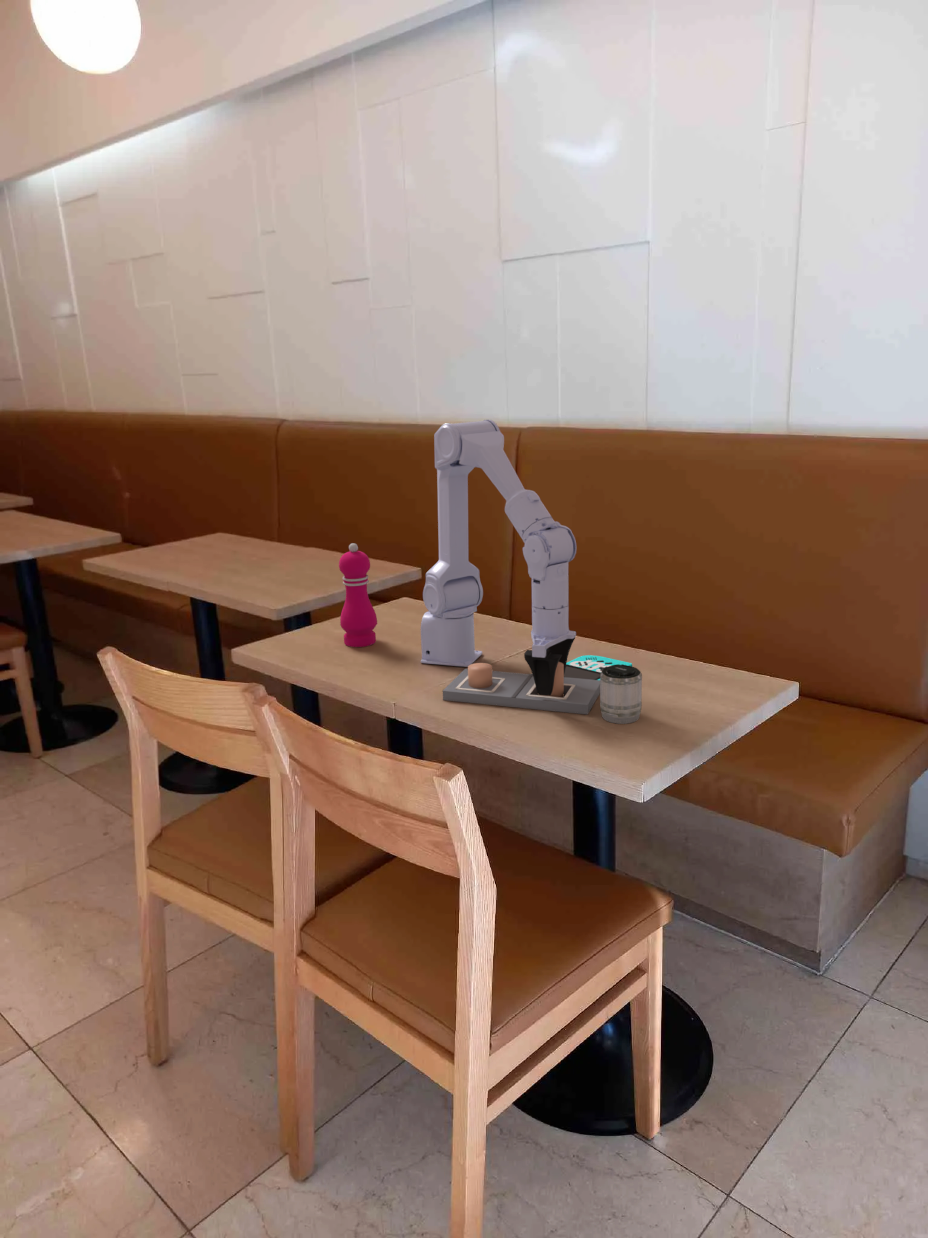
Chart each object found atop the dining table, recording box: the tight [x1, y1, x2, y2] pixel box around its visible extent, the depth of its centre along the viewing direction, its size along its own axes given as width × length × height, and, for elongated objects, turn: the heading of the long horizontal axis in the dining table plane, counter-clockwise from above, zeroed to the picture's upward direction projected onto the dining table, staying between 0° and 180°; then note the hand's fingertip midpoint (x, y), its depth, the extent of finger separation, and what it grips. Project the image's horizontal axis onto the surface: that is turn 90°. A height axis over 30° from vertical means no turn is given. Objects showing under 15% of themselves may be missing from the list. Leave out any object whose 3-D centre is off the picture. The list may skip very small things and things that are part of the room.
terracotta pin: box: [540, 662, 565, 698], centre depth 145 cm, size 4×4×6 cm
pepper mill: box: [338, 542, 378, 648], centre depth 176 cm, size 7×7×20 cm
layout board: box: [442, 662, 600, 715], centre depth 148 cm, size 24×11×5 cm, turn 70°
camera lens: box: [599, 664, 643, 725], centre depth 138 cm, size 6×6×8 cm
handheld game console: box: [564, 654, 633, 680], centre depth 157 cm, size 10×16×1 cm, turn 138°
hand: (550, 685), depth 146 cm, fingers open, 7 cm apart
